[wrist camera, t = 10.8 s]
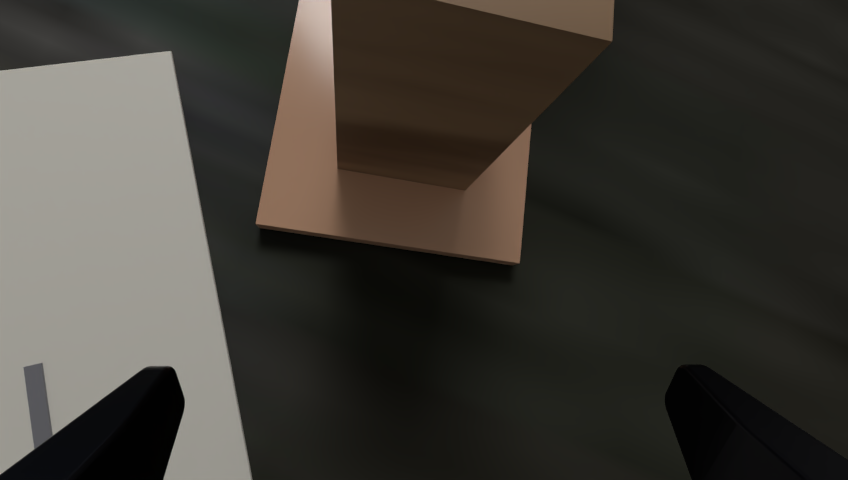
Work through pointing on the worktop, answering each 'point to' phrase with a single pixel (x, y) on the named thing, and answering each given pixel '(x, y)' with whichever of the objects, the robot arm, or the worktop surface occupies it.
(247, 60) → the worktop surface
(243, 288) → the worktop surface
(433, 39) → the walnut block
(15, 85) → the letter
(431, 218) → the plate
